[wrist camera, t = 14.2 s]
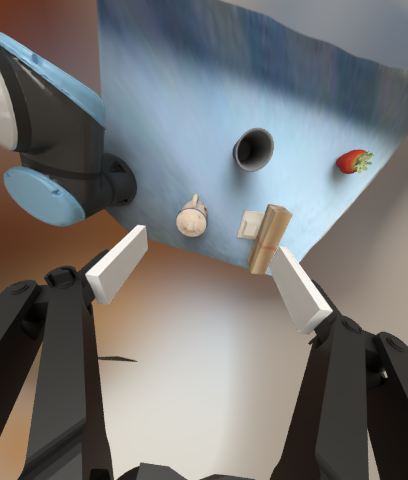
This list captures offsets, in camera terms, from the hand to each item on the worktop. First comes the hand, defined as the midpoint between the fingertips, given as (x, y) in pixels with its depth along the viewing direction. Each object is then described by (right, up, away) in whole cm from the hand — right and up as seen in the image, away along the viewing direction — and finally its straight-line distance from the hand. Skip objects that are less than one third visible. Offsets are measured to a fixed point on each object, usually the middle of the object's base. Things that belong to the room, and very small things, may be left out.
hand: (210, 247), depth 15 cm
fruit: (+36, +22, +24) cm, 48 cm away
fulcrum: (+18, +6, +36) cm, 40 cm away
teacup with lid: (-3, +11, +34) cm, 36 cm away
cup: (+10, +25, +25) cm, 37 cm away
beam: (+18, +2, +30) cm, 35 cm away
